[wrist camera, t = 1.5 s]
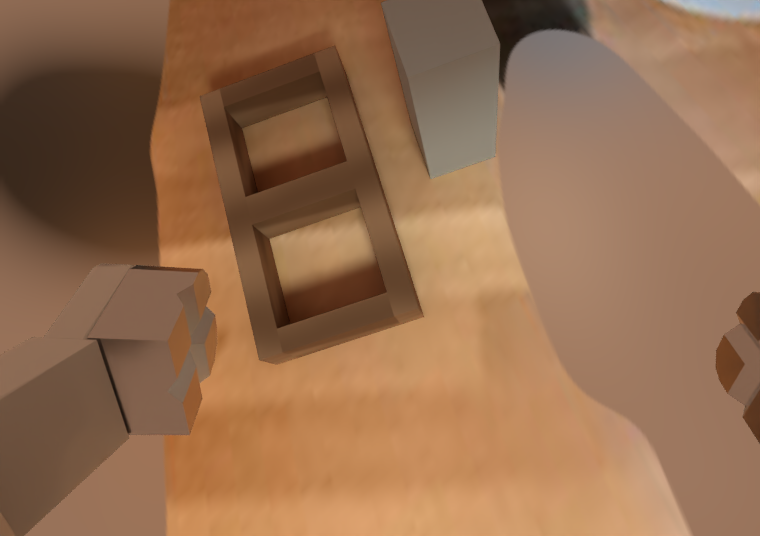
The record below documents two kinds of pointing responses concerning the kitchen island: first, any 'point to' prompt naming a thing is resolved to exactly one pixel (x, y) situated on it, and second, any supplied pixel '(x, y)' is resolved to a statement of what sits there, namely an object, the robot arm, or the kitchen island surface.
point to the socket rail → (303, 207)
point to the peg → (447, 78)
